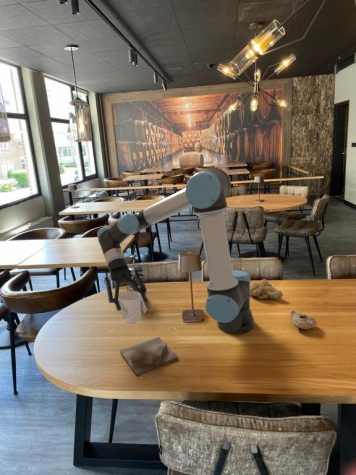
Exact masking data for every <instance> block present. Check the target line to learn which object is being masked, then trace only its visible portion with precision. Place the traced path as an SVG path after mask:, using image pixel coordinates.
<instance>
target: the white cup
mask: <svg viewBox="0 0 356 475" xmlns="http://www.w3.org/2000/svg"><path fill="white" fill-rule="evenodd" d="M119 300H121V303H122V305H123V308H124V311H125V314H126V318H125V319H123V318H122V320H123V322H124V323H126V324H136V323H139V322H140V321H141V320H142V308H141V294H140V293H139V292H136V291H129V290H128V292H127V291H126V292H123V293H121V294H119Z"/></svg>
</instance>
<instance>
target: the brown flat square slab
mask: <svg viewBox="0 0 356 475" xmlns="http://www.w3.org/2000/svg"><path fill="white" fill-rule="evenodd" d="M119 352H120V353H119V354H120V355H121V356H122V357H123V359H124V360H125V361H126V363H127V364H128V365H129V368H131V370H132V371H133V372H134V374H135V376H136V377H137V376H139V375H140V376H141V375H143V374H144V373H146V372H150V371H153V370H155V369H157V368H161V367H163V366H166V365H167V364H170V363H172V362H175V361H178V360H179V356H178V355H177V354H176V353H175V352H174V351H173V350H172V349H171V348H170V346H169V345H168V344H167V342H164V341H163V340H162V339H161V337H160V336H158V337H155V338H152V339H149V340H146V341H143V342H141V343H138V344H135V345H132V346H129V347H126V348H124V349H120V350H119Z"/></svg>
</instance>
